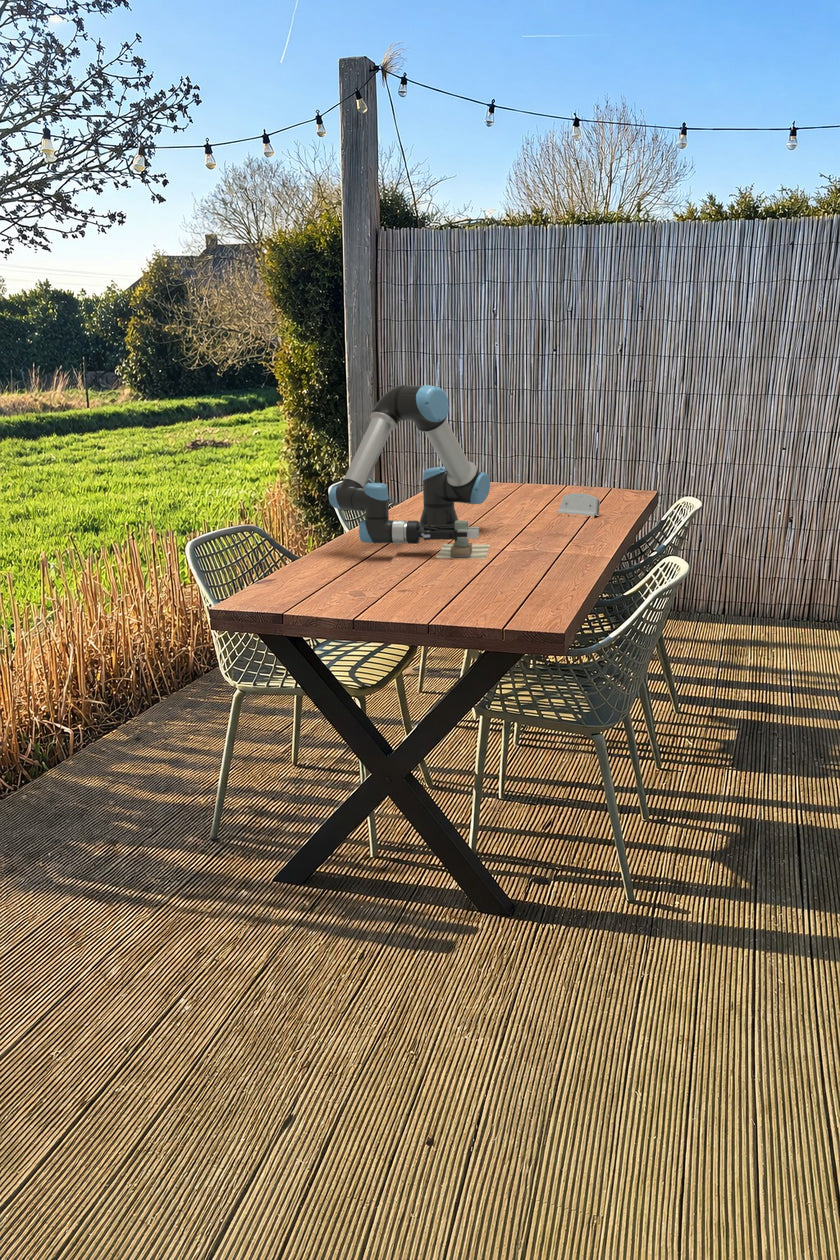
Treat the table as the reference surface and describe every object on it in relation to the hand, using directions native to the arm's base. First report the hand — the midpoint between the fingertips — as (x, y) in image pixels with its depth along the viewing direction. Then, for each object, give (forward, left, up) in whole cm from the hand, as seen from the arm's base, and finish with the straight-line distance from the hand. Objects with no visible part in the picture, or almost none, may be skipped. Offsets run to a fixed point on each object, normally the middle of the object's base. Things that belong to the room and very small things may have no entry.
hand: (478, 532), depth 316 cm
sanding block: (0, -5, -7) cm, 9 cm away
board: (-6, -5, -9) cm, 12 cm away
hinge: (-83, +34, -9) cm, 91 cm away
